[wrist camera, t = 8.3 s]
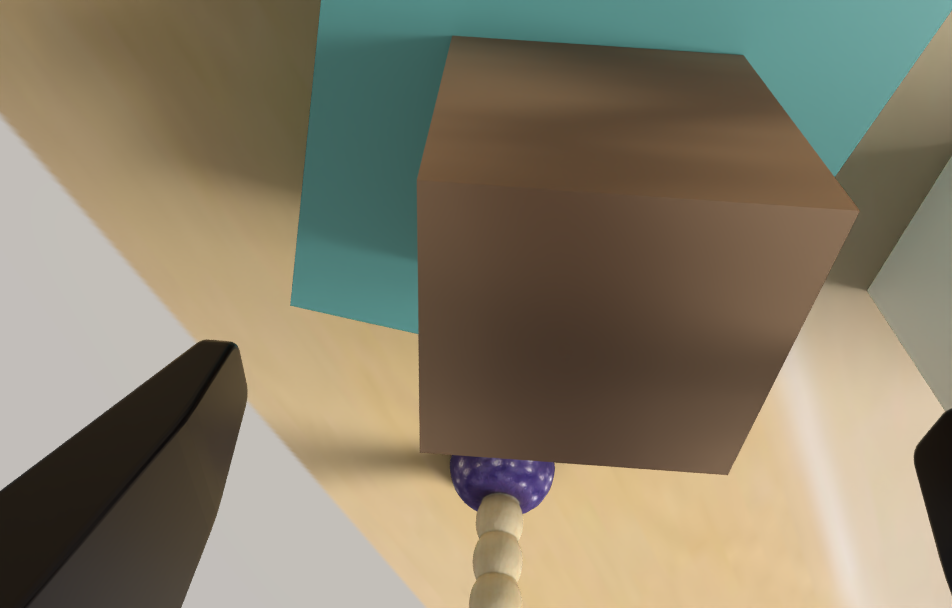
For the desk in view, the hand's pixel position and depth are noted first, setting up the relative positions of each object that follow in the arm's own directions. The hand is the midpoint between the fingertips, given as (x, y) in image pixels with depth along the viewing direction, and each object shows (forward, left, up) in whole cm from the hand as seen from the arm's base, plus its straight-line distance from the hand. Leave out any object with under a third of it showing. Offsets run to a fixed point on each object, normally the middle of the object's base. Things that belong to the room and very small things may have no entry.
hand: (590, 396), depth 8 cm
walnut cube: (0, 0, -6) cm, 6 cm away
